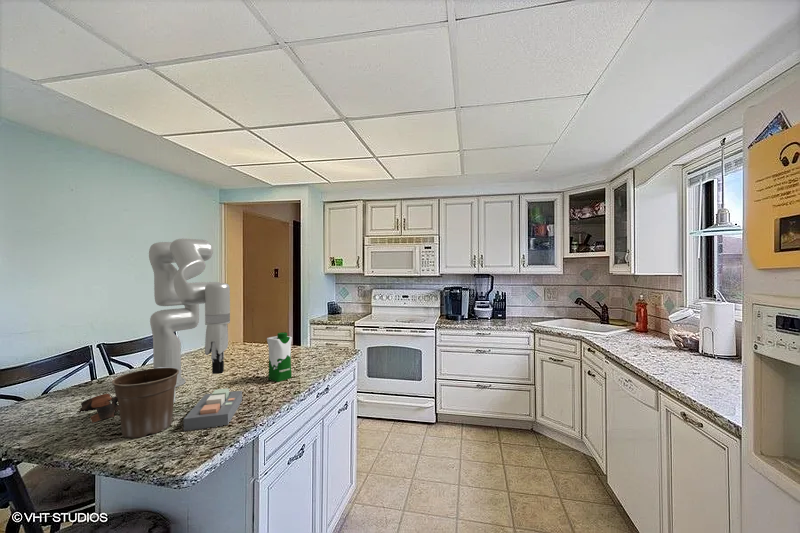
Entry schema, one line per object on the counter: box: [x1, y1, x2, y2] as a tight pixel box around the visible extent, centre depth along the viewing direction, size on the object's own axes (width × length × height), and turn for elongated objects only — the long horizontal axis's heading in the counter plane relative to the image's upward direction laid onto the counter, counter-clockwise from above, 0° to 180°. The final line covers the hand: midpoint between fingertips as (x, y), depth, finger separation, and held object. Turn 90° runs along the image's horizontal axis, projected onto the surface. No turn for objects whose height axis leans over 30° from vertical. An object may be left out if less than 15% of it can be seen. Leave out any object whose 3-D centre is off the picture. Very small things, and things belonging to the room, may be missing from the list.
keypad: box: [183, 390, 243, 431], centre depth 112 cm, size 21×12×4 cm, turn 14°
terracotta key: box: [200, 404, 220, 415], centre depth 106 cm, size 4×4×3 cm
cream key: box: [206, 394, 225, 406], centre depth 112 cm, size 4×4×3 cm
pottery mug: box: [78, 393, 119, 424], centre depth 113 cm, size 12×9×8 cm
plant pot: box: [111, 367, 179, 439], centre depth 102 cm, size 16×16×16 cm
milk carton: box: [266, 331, 293, 383], centre depth 148 cm, size 9×9×20 cm
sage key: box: [211, 388, 230, 399], centre depth 118 cm, size 4×4×3 cm
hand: (218, 372), depth 116 cm, fingers closed
